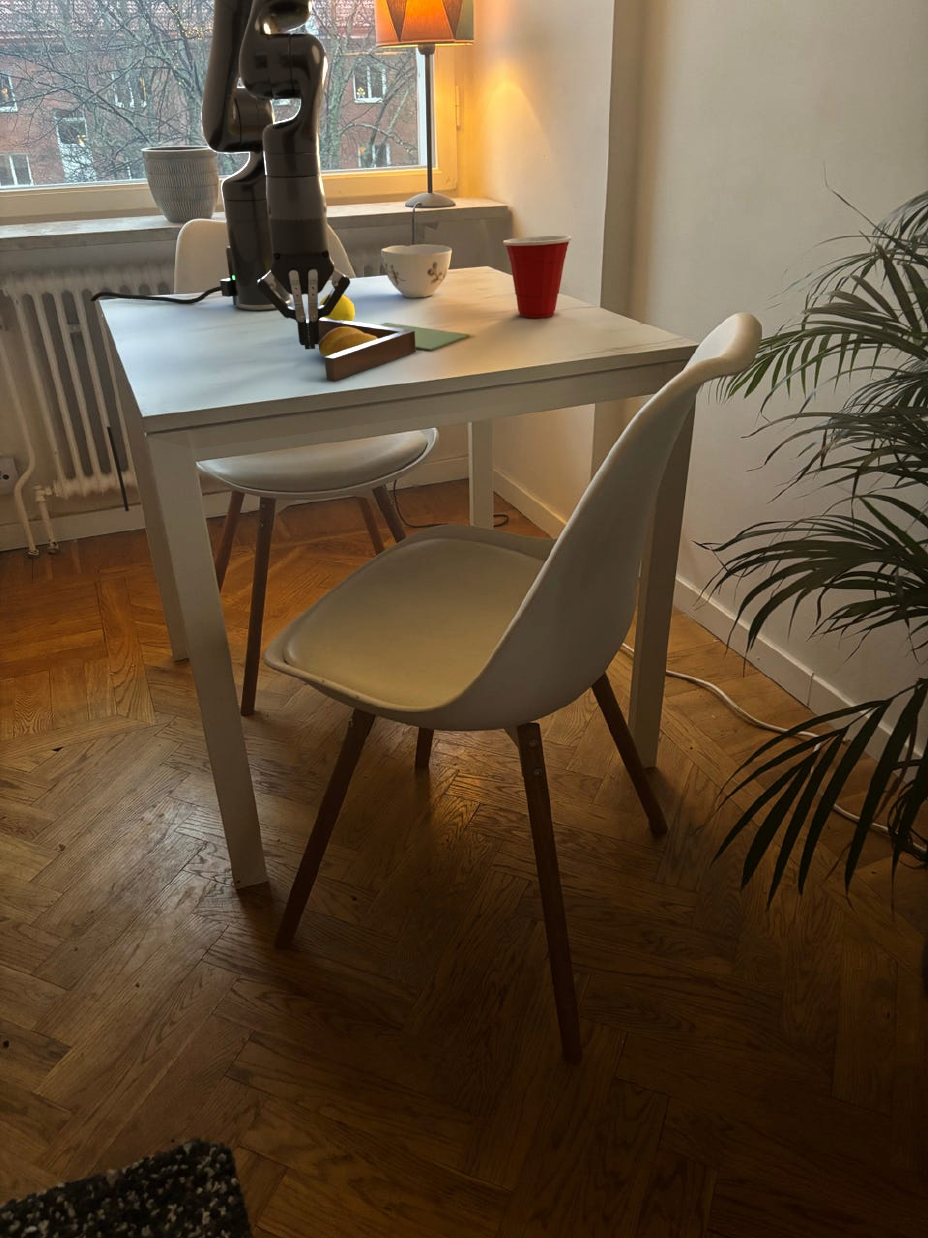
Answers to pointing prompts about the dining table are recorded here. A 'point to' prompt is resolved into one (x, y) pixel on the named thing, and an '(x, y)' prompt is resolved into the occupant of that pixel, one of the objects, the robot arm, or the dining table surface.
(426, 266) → the teacup
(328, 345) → the bread roll
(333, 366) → the corner guide
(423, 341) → the cloth
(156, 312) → the dining table surface
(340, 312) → the lemon
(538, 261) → the plastic cup
